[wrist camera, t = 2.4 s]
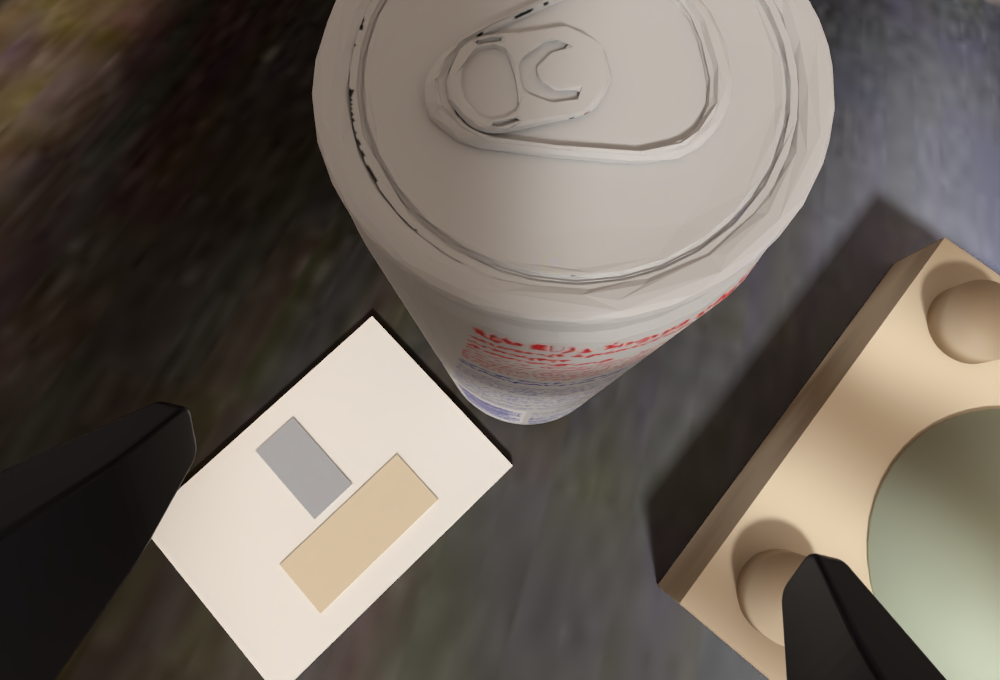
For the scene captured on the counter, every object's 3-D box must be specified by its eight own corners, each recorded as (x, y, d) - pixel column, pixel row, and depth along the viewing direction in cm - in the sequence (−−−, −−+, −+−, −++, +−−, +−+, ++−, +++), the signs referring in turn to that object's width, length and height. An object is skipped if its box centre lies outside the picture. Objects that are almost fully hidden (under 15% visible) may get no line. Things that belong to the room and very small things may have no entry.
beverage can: (640, 340, 21) (962, 54, 6) (530, 460, 20) (601, 458, 5) (521, 235, 22) (557, -238, 7) (412, 347, 21) (192, 79, 6)
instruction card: (281, 692, 19) (277, 696, 18) (145, 523, 20) (138, 524, 19) (512, 465, 20) (512, 465, 20) (374, 318, 21) (371, 315, 21)
